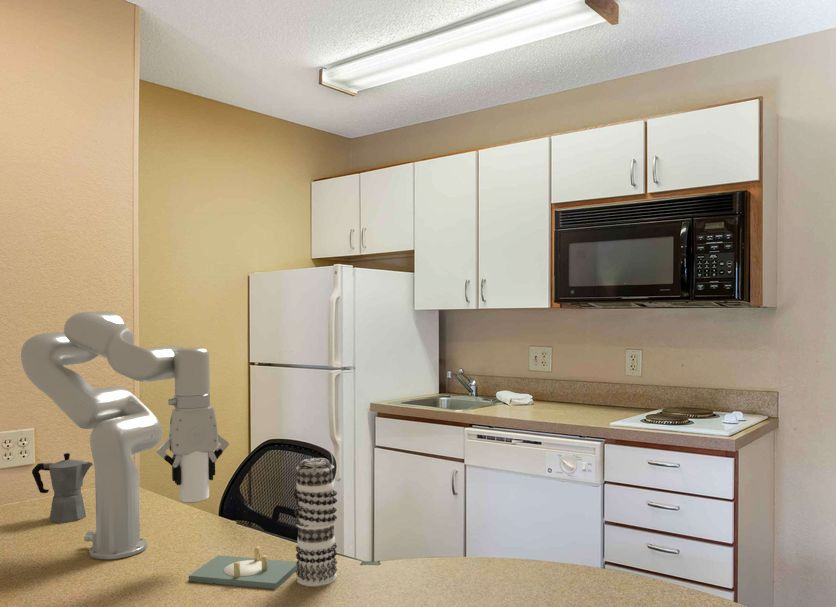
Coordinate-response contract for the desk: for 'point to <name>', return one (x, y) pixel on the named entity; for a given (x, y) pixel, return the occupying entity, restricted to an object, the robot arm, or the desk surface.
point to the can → (194, 477)
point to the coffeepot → (64, 488)
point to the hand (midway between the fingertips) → (194, 480)
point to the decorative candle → (315, 522)
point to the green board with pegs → (245, 571)
